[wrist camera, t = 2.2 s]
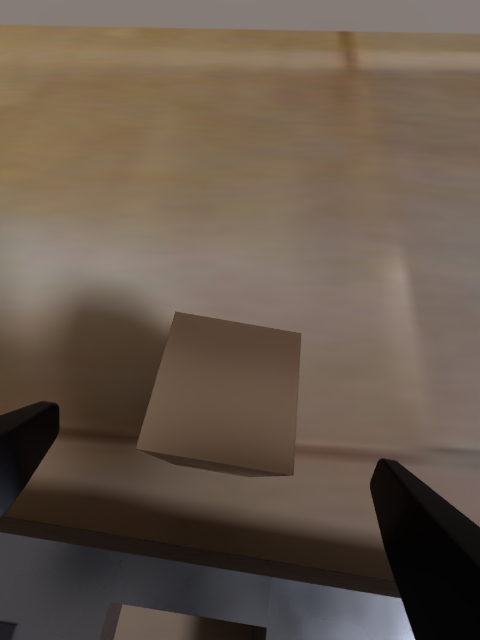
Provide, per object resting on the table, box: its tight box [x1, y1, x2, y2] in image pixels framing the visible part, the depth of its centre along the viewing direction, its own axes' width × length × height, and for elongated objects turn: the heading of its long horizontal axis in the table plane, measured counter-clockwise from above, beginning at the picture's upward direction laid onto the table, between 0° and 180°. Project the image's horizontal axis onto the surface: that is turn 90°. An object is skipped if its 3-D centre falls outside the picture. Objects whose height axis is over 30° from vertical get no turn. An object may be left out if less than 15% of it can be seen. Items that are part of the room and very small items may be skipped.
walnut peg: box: [136, 312, 301, 477], centre depth 13 cm, size 4×4×10 cm
